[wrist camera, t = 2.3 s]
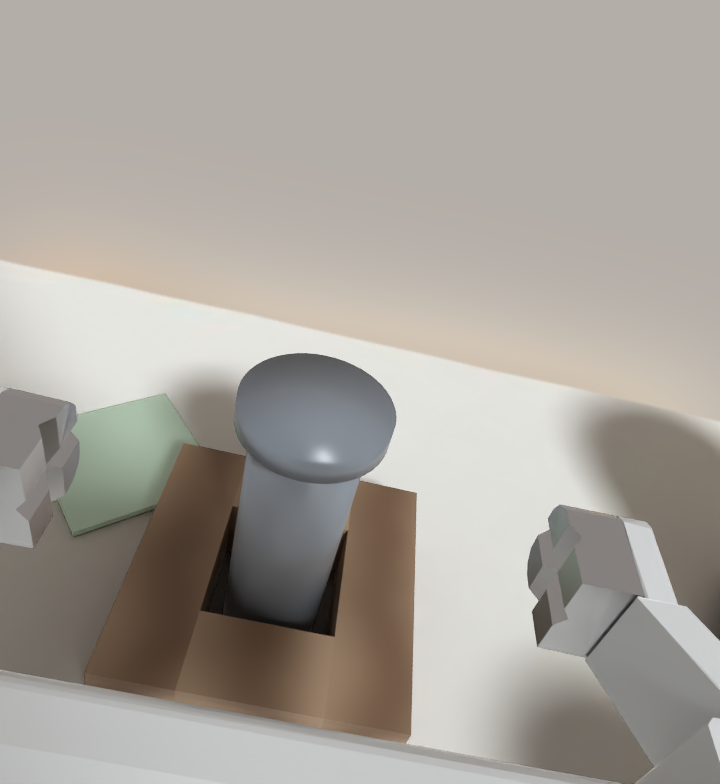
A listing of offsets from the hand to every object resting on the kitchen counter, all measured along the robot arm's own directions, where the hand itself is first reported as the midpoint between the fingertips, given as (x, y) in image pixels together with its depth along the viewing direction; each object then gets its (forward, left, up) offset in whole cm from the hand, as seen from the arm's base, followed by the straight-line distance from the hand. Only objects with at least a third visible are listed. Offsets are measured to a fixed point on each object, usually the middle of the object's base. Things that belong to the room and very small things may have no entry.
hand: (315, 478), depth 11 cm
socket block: (-9, +8, -24) cm, 27 cm away
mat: (-23, +5, -24) cm, 34 cm away
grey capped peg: (-9, +8, -24) cm, 27 cm away
